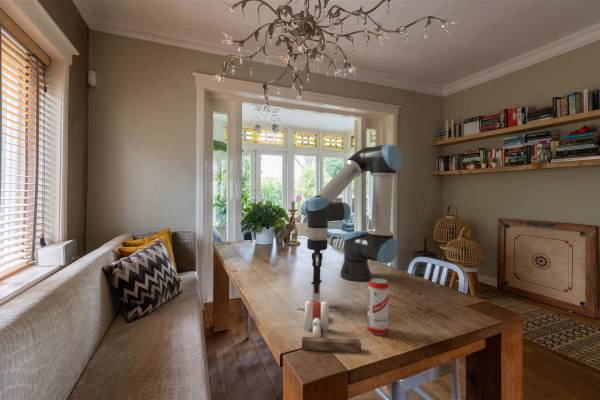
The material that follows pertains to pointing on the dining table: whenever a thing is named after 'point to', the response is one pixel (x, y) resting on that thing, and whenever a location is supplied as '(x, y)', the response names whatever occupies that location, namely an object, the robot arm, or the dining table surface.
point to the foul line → (304, 309)
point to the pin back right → (324, 316)
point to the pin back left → (308, 315)
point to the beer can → (378, 306)
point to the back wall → (331, 344)
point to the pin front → (316, 328)
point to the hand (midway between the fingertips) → (316, 300)
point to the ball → (316, 309)
